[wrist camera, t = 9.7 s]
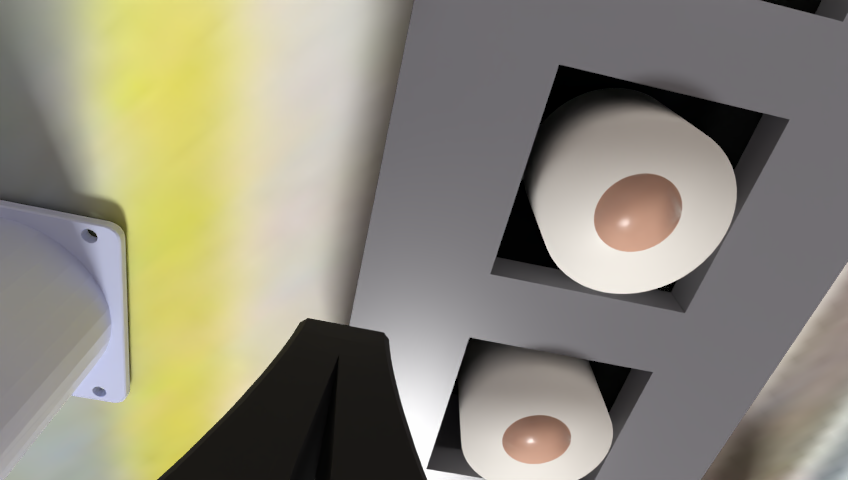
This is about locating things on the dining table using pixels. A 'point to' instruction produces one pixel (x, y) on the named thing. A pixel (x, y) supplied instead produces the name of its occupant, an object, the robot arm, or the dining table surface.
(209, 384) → the dining table surface
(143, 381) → the dining table surface
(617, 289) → the button middle
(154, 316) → the dining table surface
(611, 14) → the mount
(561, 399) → the button
